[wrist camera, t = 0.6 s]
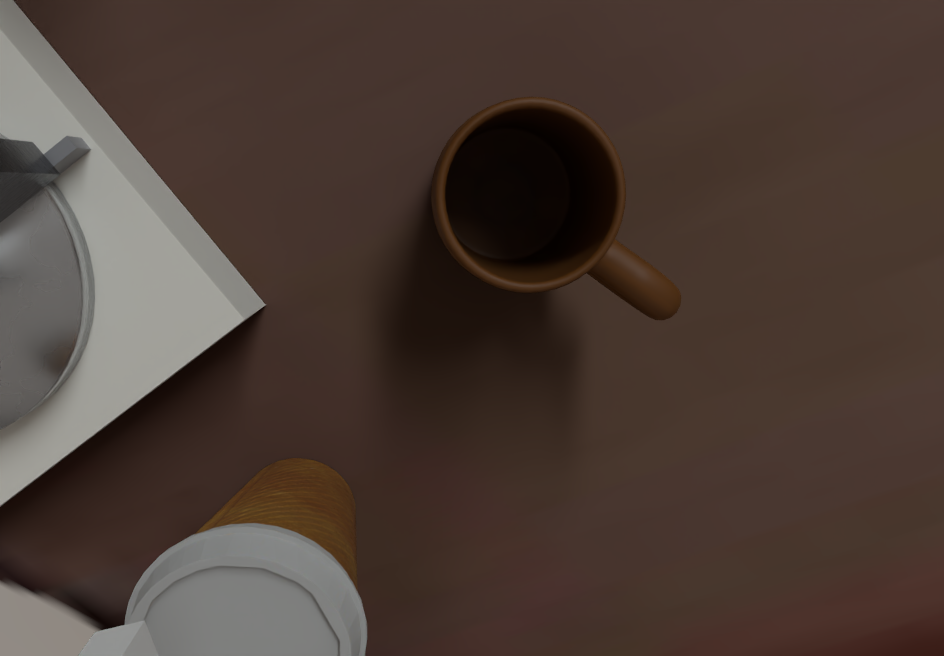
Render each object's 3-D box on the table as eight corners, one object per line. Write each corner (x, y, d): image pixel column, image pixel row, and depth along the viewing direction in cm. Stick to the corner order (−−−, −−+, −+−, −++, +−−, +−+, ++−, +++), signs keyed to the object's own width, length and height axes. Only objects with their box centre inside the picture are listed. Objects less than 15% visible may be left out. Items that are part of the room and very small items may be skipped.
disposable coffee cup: (380, 591, 39) (357, 765, 27) (210, 584, 38) (112, 760, 26) (389, 434, 37) (370, 549, 25) (211, 424, 36) (106, 537, 24)
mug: (672, 229, 35) (756, 244, 26) (583, 344, 36) (635, 396, 27) (490, 86, 33) (511, 48, 24) (401, 211, 34) (390, 219, 25)
